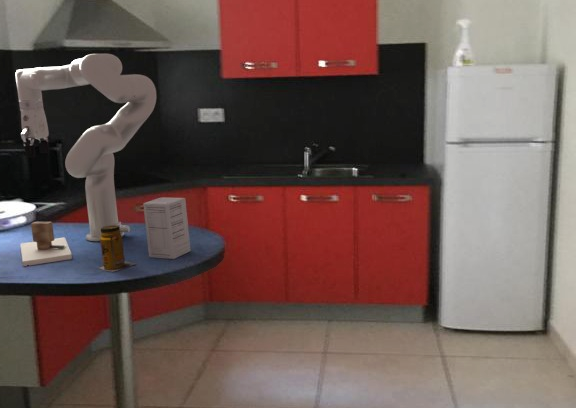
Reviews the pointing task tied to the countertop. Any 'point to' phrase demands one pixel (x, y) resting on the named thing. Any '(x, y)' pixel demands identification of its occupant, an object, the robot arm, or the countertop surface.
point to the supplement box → (167, 227)
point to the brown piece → (43, 235)
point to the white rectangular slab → (44, 252)
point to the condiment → (112, 249)
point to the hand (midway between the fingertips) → (37, 155)
